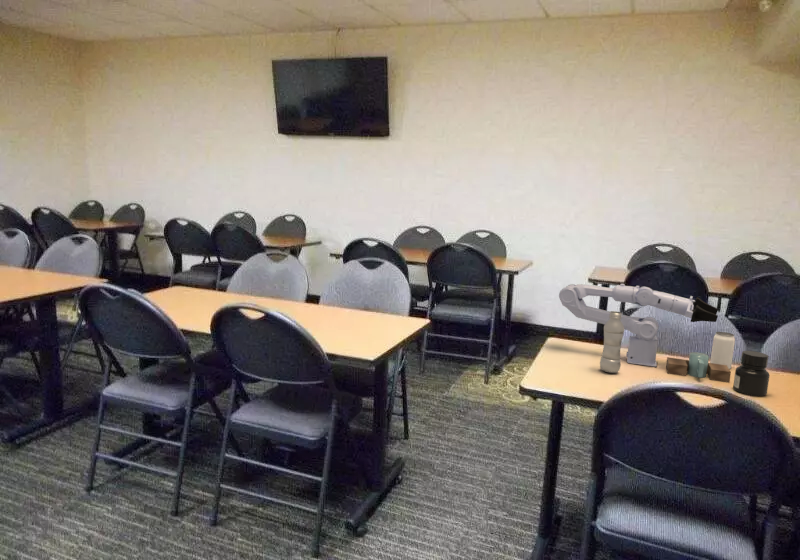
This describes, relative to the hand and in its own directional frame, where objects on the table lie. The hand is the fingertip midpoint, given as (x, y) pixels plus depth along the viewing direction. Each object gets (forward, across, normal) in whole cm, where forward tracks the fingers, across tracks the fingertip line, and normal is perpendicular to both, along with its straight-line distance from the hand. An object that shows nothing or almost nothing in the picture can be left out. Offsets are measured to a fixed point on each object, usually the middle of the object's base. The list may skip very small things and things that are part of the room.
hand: (717, 315), depth 187 cm
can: (+7, +9, +21) cm, 24 cm away
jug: (0, -10, +19) cm, 21 cm away
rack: (0, -7, +20) cm, 21 cm away
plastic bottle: (-26, -22, +22) cm, 40 cm away
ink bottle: (+14, -16, +16) cm, 27 cm away
